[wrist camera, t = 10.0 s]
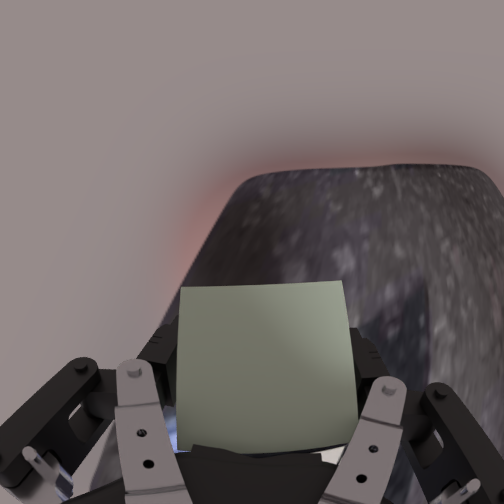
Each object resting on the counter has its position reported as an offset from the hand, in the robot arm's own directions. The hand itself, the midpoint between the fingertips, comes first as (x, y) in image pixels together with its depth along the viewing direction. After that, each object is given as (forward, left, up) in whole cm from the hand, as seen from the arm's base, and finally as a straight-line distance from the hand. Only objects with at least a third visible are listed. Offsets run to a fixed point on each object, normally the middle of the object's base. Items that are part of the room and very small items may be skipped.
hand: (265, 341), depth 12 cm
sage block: (0, +2, -6) cm, 6 cm away
